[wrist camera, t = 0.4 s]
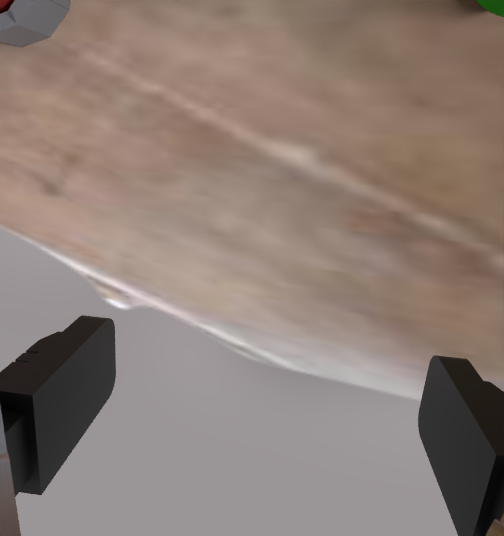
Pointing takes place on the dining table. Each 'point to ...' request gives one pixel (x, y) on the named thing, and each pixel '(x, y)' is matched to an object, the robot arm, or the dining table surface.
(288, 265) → the dining table surface
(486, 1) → the flower
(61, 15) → the sleeve
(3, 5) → the beverage can
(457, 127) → the dining table surface
